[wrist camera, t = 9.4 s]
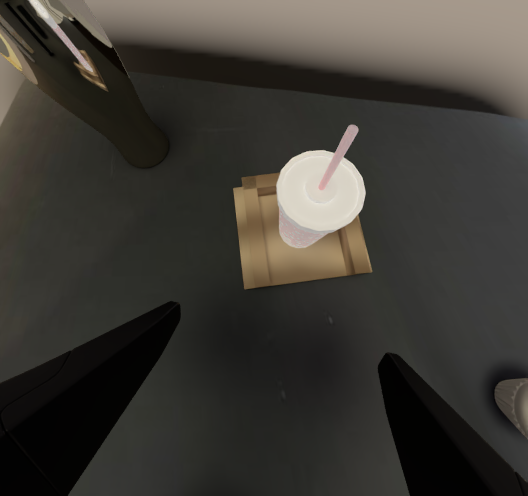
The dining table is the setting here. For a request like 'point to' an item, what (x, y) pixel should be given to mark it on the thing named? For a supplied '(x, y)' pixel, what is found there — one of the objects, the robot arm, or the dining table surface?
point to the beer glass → (80, 72)
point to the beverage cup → (318, 194)
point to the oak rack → (279, 252)
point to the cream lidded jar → (514, 402)
